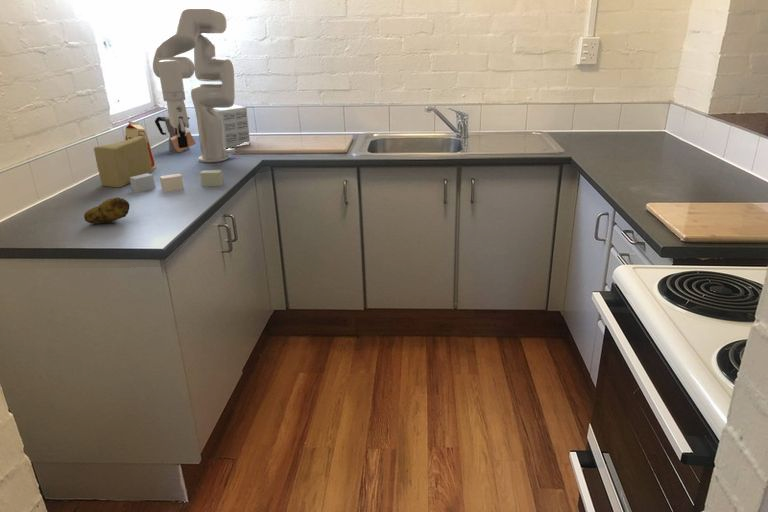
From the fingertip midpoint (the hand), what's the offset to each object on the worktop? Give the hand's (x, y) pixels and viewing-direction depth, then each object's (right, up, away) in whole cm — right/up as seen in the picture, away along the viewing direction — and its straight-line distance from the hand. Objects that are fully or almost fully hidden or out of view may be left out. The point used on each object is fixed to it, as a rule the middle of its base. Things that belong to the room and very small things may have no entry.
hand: (182, 145), depth 213 cm
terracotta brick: (+1, 0, +1) cm, 2 cm away
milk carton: (-25, -6, +22) cm, 34 cm away
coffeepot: (-22, +8, +54) cm, 59 cm away
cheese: (-22, -12, +8) cm, 26 cm away
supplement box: (0, +13, +66) cm, 67 cm away
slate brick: (-12, -17, -4) cm, 21 cm away
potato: (-9, -31, -38) cm, 50 cm away
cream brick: (-2, -17, -5) cm, 18 cm away
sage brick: (+11, -15, 0) cm, 18 cm away
